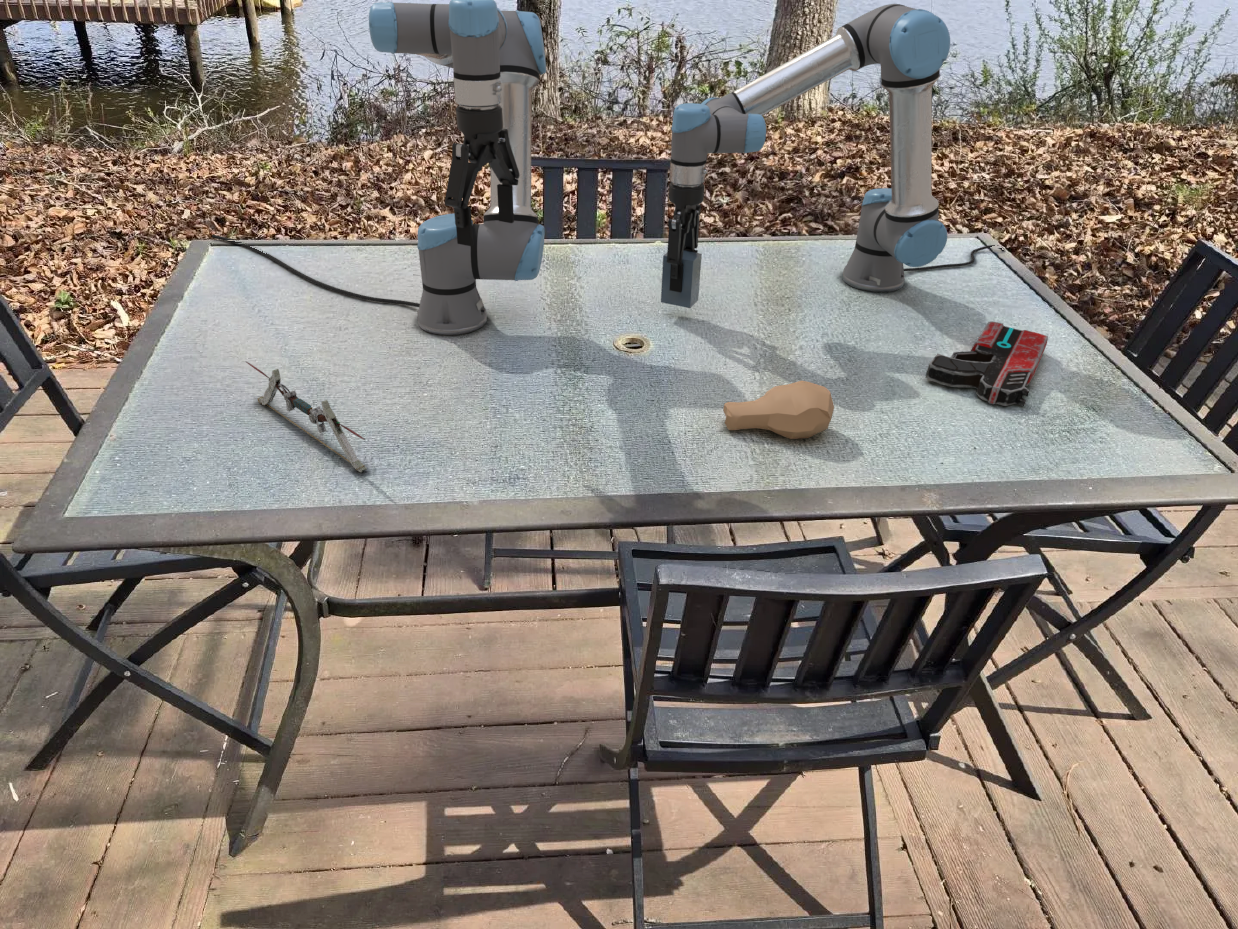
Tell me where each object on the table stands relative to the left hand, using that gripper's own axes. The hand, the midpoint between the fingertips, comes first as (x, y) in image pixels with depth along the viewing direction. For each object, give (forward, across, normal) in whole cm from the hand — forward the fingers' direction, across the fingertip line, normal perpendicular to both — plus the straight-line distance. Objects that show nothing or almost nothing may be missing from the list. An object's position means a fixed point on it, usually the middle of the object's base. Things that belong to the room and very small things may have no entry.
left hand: (486, 232), depth 154 cm
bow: (+31, -30, +21) cm, 48 cm away
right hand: (+24, +49, -19) cm, 58 cm away
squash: (+31, +10, -54) cm, 63 cm away
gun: (+31, +54, -87) cm, 107 cm away
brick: (+28, +49, -19) cm, 59 cm away
